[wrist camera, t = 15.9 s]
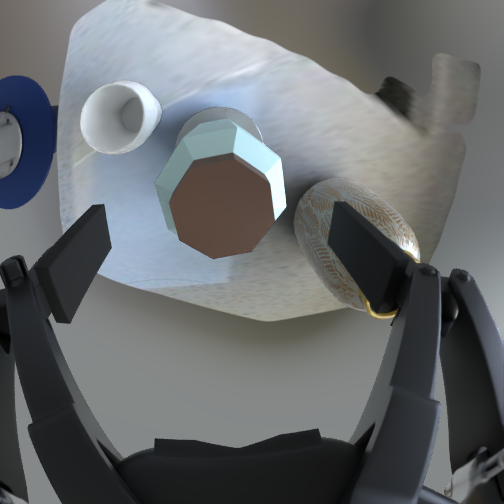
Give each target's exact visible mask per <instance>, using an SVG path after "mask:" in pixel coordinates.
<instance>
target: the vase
mask: <svg viewBox="0 0 504 504" xmlns="http://www.w3.org/2000/svg"><path fill="white" fill-rule="evenodd" d="M334 201H346V202H347V203H348V204H350V205H351V206H352V207H353V208H354V209H355V210H357V211H358V212H359V213H360V214H361V215H362V216H364V217H365V218H366V219H367V220H368V221H369V222H370V223H372V224H373V225H374V226H375V227H376V228H377V229H378V230H379V231H381V232H382V233H383V234H384V235H385V236H386V237H387V238H388V239H390V240H392V241H394V242H395V243H396V244H397V245H398V246H399V247H400V248H402V249H403V250H404V251H405V253H407V254H408V255H409V256H410V257H411V258H412V259H413V260H414V261H415V262H416V263H421V262H420V250H419V246H418V242H417V239H416V237H415V235H414V232H413V231H412V229H411V228H410V226H409V225H408V224H407V222H406V221H405V220H404V219H403V217H402V216H401V215H400V214H399V213H398V212H397V211H396V210H395V209H394V208H393V207H392V206H391V205H389V204H388V203H387V202H386V201H385V200H383V199H382V198H381V197H380V196H378V195H377V194H376V193H374V192H373V191H371V190H370V189H368V188H367V187H365V186H363V185H361V184H359V183H357V182H355V181H353V180H350V179H346V178H330V179H326V180H323V181H320V182H318V183H316V184H315V185H313V186H312V187H310V188H309V189H308V190H307V191H306V192H305V193H304V194H303V196H302V197H301V199H300V200H299V202H298V204H297V207H296V210H295V214H294V231H295V236H296V239H297V241H298V244H299V246H300V248H301V250H302V252H303V254H304V256H305V257H306V259H307V261H308V262H309V264H310V266H311V267H312V269H313V270H314V272H315V273H316V275H317V276H318V278H319V279H320V280H321V282H322V283H323V284H324V285H325V286H326V288H327V289H328V290H329V291H330V292H331V293H332V294H333V295H334V296H335V297H336V298H337V299H338V300H339V301H340V302H342V303H343V304H345V305H346V306H349V307H351V308H353V309H357V310H361V311H367V313H368V314H369V315H370V316H372V317H373V318H375V319H389V318H392V317H394V316H395V314H396V312H397V309H398V307H399V306H398V304H397V303H396V302H395V301H394V304H393V306H392V309H391V311H390V312H386V313H379V314H376V312H375V311H374V309H373V308H372V306H371V305H370V303H369V302H368V300H367V299H366V297H365V296H364V294H363V293H362V291H361V290H360V288H359V287H358V285H357V284H356V283H355V281H354V280H353V278H352V277H351V275H350V274H349V273H348V271H347V270H346V268H345V267H344V266H343V264H342V263H341V261H340V260H339V259H338V257H337V256H336V254H335V253H334V252H333V250H332V249H331V248H330V246H329V245H328V244H327V241H328V236H329V230H330V225H331V219H332V213H333V206H334Z"/></svg>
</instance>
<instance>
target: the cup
mask: <svg viewBox="0 0 504 504" xmlns="http://www.w3.org/2000/svg"><path fill="white" fill-rule="evenodd" d="M161 116H162V109H161V105H160V103H159V102H158V100H157V99H156V98H155V97H153V95H152V94H151V92H150V91H149V90H148V89H147V88H146V87H145V86H143V85H141V84H138V83H136V82H133V81H127V80H120V81H113V82H111V83H109V84H106V85H104V86H102V87H100V88H98V89H97V90H96V91H94V92H93V93H92V94H91V95H90V96H89V98H88V99H87V100H86V102H85V104H84V106H83V108H82V111H81V116H80V129H81V132H82V136H83V138H84V139H85V141H86V143H87V144H88V145H89V146H90V147H91V148H92V149H94V150H96V151H98V152H101V153H106V154H112V155H116V154H124V153H127V152H130V151H132V150H134V149H135V148H137V147H138V146H140V145H142V144H143V143H144V142H145V141H146V140H147V139H148V138H149V137H150V135H151V133H152V131H153V130H154V129H155V128H156V127H157V125H158V124H159V122H160V119H161Z"/></svg>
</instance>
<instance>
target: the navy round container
mask: <svg viewBox="0 0 504 504" xmlns="http://www.w3.org/2000/svg"><path fill="white" fill-rule="evenodd" d="M226 118H228V119H229V120H231V121H232V122H234V123H235V124H237V125H238V126H240V127H241V128H243V129H244V130H245V131H247V132H248V133H250V134H251V135H252V136H254V137H255V138H256V139H258V140H259V141H260V142H261V143H263V139H262V135H261V133H260V131H259V129H258V127H257V126H256V124H255V123H254V122H253V121H252V120H251V119H250V118H249V117H248V116H247V115H245V114H244V113H242V112H240V111H238V110H235V109H232V108H227V107H214V108H209V109H206V110H203V111H201V112H199V113H197V114H195V115H194V116H192V117H191V118H190V119H189V120H188V121H187V122H186V123H185V124H184V125H183V127H182V128H181V130H180V132H179V134H178V137H177V140H176V145H175V149H176V148H177V146H178V145H179V143H180V142H181V140H182V138H184V137H185V136H186V135H187V134H188V133H189V132H191V131H192V130H193V129H194V128H195V127H197V126H198V125H199V124H201V123H206V122H211V121H216V120H221V119H226Z"/></svg>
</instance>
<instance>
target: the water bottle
mask: <svg viewBox="0 0 504 504" xmlns="http://www.w3.org/2000/svg"><path fill="white" fill-rule="evenodd" d="M155 185H156V189H157V193H158V196H159V200H160V203H161V207H162V211H163V214H164V217H165V221H166V224H167V228H168V230H170V231H172V232H173V233H175V234H177V235H178V237H179V240H180V241H181V242H183V243H185V244H187V245H188V246H190V247H192V248H194V249H196V250H197V251H199V252H201V253H203V254H205V255H206V256H208V257H210V258H212V259H216V258H222V257H227V256H232V255H237V254H243V253H248V252H252V250H253V249H254V248H255V247H256V245H257V244H258V243H259V242H260V240H261V239H262V238H263V237H264V235H265V234H266V233H267V232H268V230H269V229H270V228H271V227H272V225H273V224H274V223H275V220H276V219H277V218H278V216H279V215H280V214H281V213H282V211H283V210H284V209H285V208H286V199H285V190H284V181H283V172H282V164H281V158H280V157H279V156H278V155H276V154H275V153H274V152H273V151H271V150H270V149H269V148H268V147H266V146H265V145H264V144H263V143H261V142H260V141H259V140H258V139H256V138H255V137H254V136H252V135H251V134H250V133H248V132H247V131H245V130H244V129H243V128H241V127H240V126H238V125H237V124H235V123H234V122H232V121H231V120H229V119H228V118H226V119H221V120H216V121H211V122H206V123H201V124H199V125H198V126H197V127H195V128H194V129H193V130H192V131H191V132H189V133H188V134H187V135H186V136H185V137H184V138H182V140H181V142H180V143H179V145H178V146H177V148H176V149H175V151H174V152H173V154H172V155H171V157H170V159H169V160H168V162H167V163H166V165H165V167H164V168H163V170H162V172H161V173H160V175H159V177H158V178H157V180H156V182H155Z"/></svg>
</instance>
